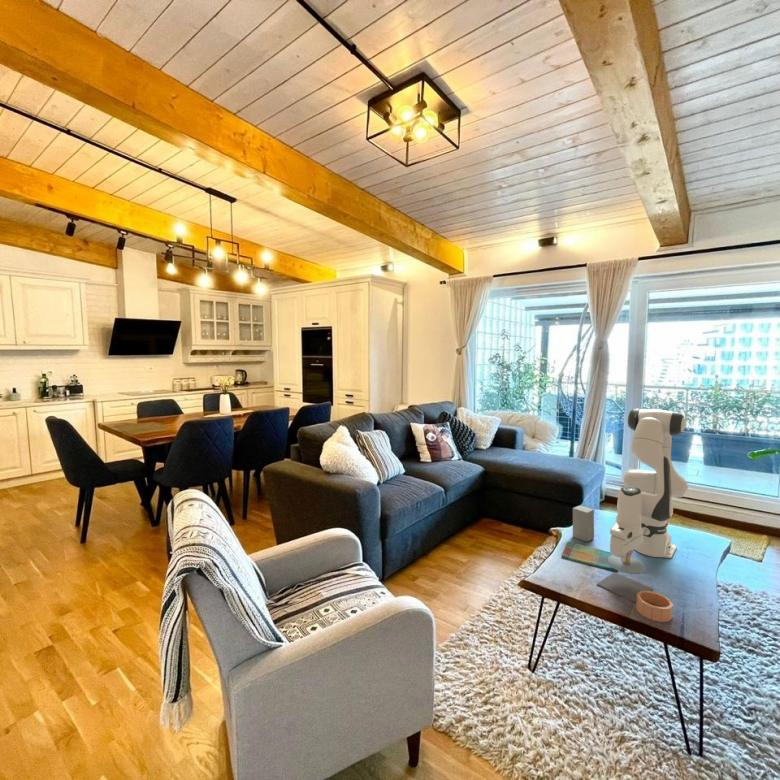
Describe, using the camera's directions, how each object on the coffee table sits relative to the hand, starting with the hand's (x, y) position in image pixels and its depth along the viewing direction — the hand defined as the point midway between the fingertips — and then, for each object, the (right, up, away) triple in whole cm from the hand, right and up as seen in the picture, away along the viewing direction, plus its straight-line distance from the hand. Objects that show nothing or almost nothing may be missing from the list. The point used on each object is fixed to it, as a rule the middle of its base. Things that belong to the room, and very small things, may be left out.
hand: (626, 559), depth 169 cm
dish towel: (-2, -10, +25) cm, 27 cm away
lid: (0, -2, 0) cm, 2 cm away
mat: (0, -12, +1) cm, 12 cm away
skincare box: (+3, -7, +45) cm, 46 cm away
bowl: (+1, -13, -15) cm, 20 cm away
